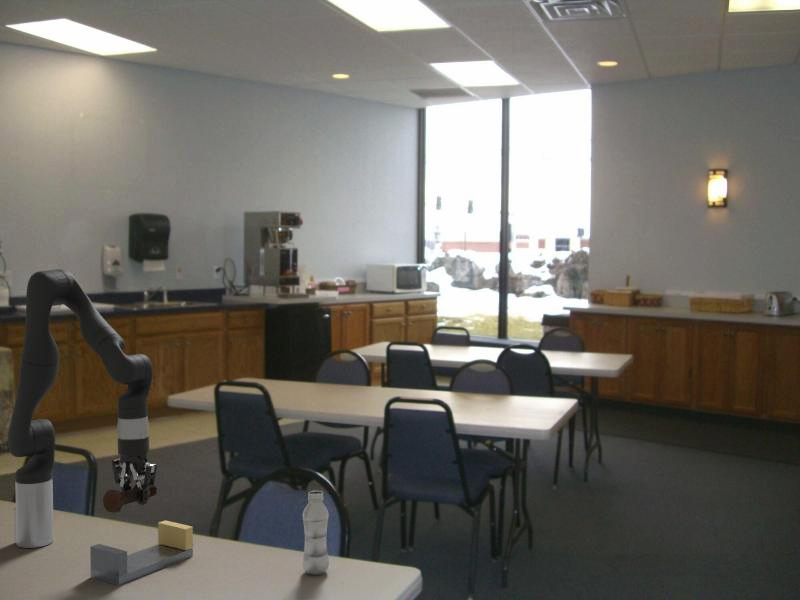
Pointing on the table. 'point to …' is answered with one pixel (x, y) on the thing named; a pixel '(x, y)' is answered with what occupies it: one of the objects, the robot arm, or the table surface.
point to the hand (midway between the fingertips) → (134, 502)
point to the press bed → (132, 562)
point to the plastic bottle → (315, 534)
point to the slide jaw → (175, 535)
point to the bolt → (123, 498)
